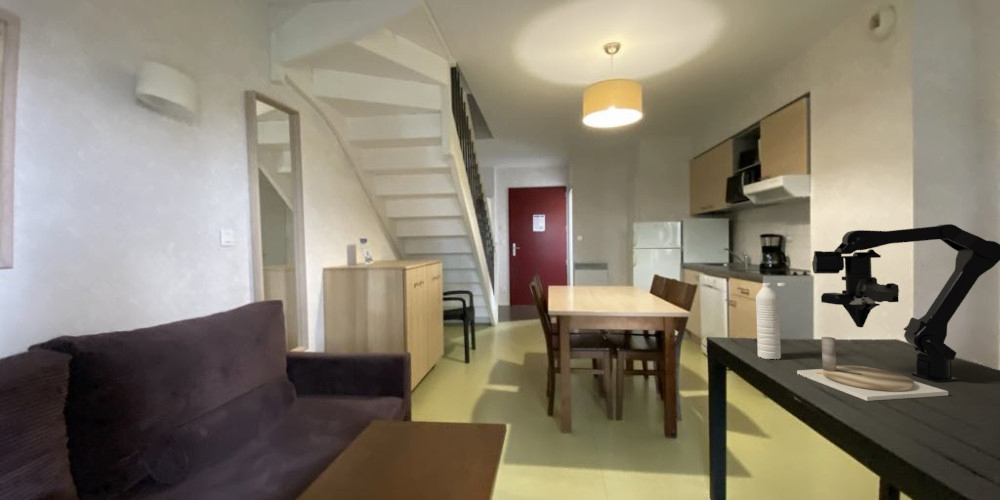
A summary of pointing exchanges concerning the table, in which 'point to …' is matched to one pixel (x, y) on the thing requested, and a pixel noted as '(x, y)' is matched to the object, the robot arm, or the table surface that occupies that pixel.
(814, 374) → the base
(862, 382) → the dial
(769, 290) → the water bottle
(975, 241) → the robot arm
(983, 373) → the table surface
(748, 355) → the table surface
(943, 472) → the table surface
